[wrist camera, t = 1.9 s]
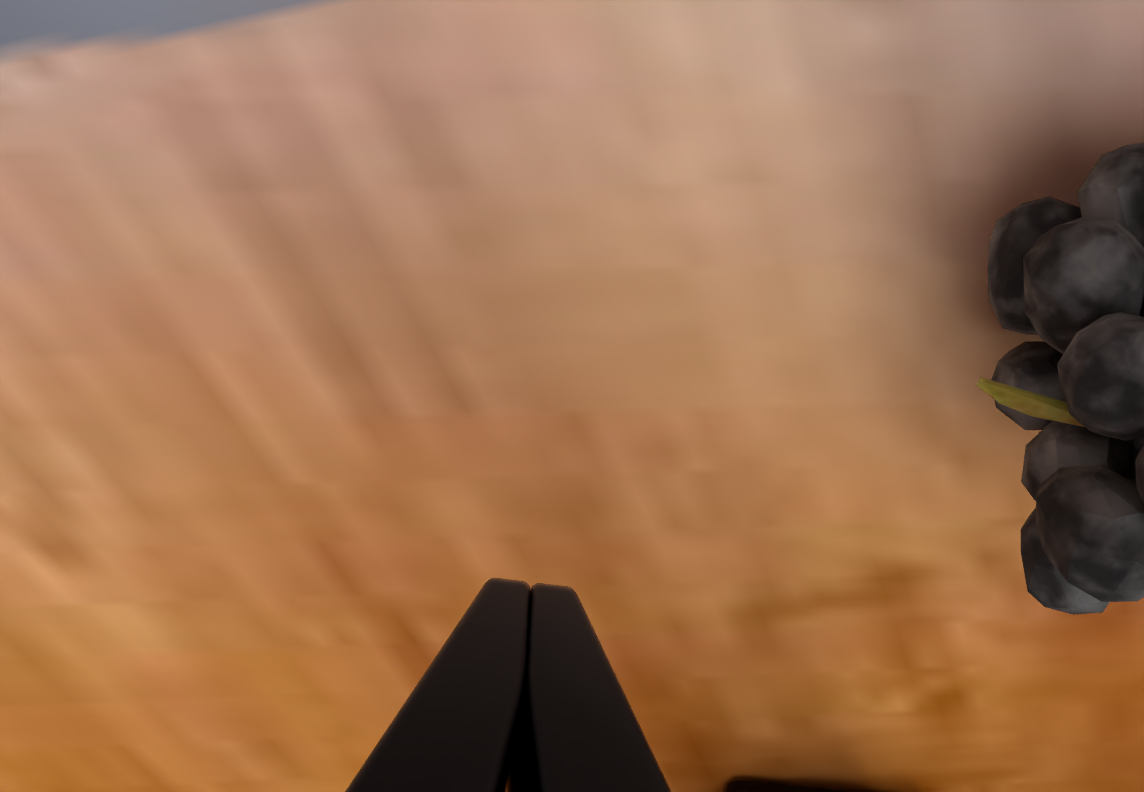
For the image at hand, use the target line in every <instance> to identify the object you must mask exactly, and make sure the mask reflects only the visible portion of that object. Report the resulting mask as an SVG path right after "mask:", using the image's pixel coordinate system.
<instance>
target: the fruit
mask: <svg viewBox="0 0 1144 792" xmlns="http://www.w3.org/2000/svg"><path fill="white" fill-rule="evenodd" d="M1077 193H1078V199H1079V204H1080V208H1079V207H1077V206H1074V205H1071V204H1068V203H1066V202H1063V201H1060V200H1058V199H1055V198H1052V197H1046V198H1042V199H1038V200H1034V201H1030V202H1026V203H1022V204H1021V205H1019V206H1018V207H1016V208H1015V209H1013V210H1012V211H1010V212H1009V213H1007V214H1006V215H1004V216H1003V217H1001V218H1000V219H998V220H997V221H996V224H995V227H994V230H993V234H992V237H991V240H990V243H989V255H988V292H989V302H990V304H991V306H992V308H993V310H994V312H995V314H996V316H997V318H998V320H999V322H1000V324H1001V326H1002V328H1004V329H1008V330H1012V331H1015V332H1019V333H1023V334H1028V335H1039V336H1040V338H1041V339H1042V340H1043V341H1045V342H1024V343H1022V344H1021V345H1019V346H1017V347H1016V348H1014V349H1012V350H1011V351H1009V352H1008V353H1007V354H1006V355H1005V356H1003V357H1002V358H1001V359H1000V360H999V361H998V363H997V366H996V369H995V371H994V374H993V377H992V380H989V379H985V378H982V377H981V378H980V379H979V381H978V382H977V384H976V386H977V387H979V388H980V389H981V390H983V391H984V392H985V393H987V394H988V395H989V396H991V397H992V398H993V399H995V404H996V408H997V409H999V410H1000V411H1001V412H1003V413H1004V414H1005V415H1006V416H1008V417H1009V418H1010V419H1012V420H1013V421H1014V422H1015V423H1017V424H1018V425H1019V426H1021V427H1022V428H1023V429H1025V430H1042V431H1041V432H1040V433H1039V434H1038V435H1037V436H1036V437H1035V438H1033V439H1032V440H1031V441H1030V442H1029V443H1028V444H1027V445H1026V449H1025V457H1024V465H1023V473H1022V480H1021V482H1022V483H1023V485H1024V486H1025V487H1026V489H1027V490H1028V492H1029V493H1030V495H1031V496H1032V497H1033V499H1034V500H1036V508H1035V509H1034V511H1033V512H1032V513H1031V514H1030V516H1029V517H1028V519H1027V520H1026V522H1025V524H1024V525H1023V527H1022V528H1021V555H1022V561H1023V567H1024V572H1025V578H1026V584H1027V590H1028V592H1029V593H1030V594H1031V595H1032V596H1033V597H1035V598H1036V599H1037V600H1038V601H1039V602H1040V603H1041V604H1042V605H1043V606H1044V607H1047V608H1051V609H1055V610H1058V611H1062V612H1066V613H1069V614H1087V613H1101V612H1103V611H1104V609H1105V608H1106V606H1107V605H1108V604H1109V602H1119V601H1138V600H1140V599H1141V598H1143V597H1144V142H1143V143H1138V144H1132V145H1127V146H1123V147H1121V148H1118V149H1116V150H1114V151H1111V152H1109V153H1106V154H1104V155H1102V156H1101V158H1100V159H1099V161H1098V162H1097V164H1096V165H1095V166H1094V168H1093V169H1092V171H1091V172H1090V174H1089V175H1088V177H1087V178H1086V179H1085V181H1084V182H1083V184H1082V186H1081V187H1080V189H1079V191H1078V192H1077Z"/></svg>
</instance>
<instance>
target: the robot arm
mask: <svg viewBox="0 0 1144 792" xmlns="http://www.w3.org/2000/svg"><path fill="white" fill-rule="evenodd" d="M505 791H506V792H671V790H670V788H669V786H668V784H667V782H666V780H665V778H664V776H663V774H662V771H661V769H660V767H659V765H658V763H657V761H656V759H655V757H654V755H653V753H652V750H651V748H650V746H649V744H648V742H647V740H646V738H645V736H644V734H643V732H642V729H641V727H640V725H639V723H638V721H637V719H636V717H635V715H634V713H633V711H632V709H631V706H630V704H629V702H628V700H627V698H626V696H625V694H624V692H623V690H622V688H621V685H620V683H619V681H618V679H617V677H616V675H615V673H614V671H613V669H612V667H611V664H610V662H609V660H608V658H607V656H606V654H605V652H604V650H603V648H602V646H601V644H600V641H599V639H598V637H597V635H596V633H595V631H594V629H593V627H592V625H591V623H590V620H589V618H588V616H587V614H586V612H585V610H584V608H583V606H582V604H581V602H580V599H579V597H578V595H577V594H576V592H575V591H574V590H573V589H572V588H571V587H568V586H559V585H551V584H543V583H536V584H534V585H533V586H532V588H531V590H530V586H529V584H528V583H527V582H524V581H518V580H509V579H501V578H491V579H489V580H488V581H487V582H486V583H485V584H484V586H483V587H482V589H481V590H480V592H479V593H478V595H477V596H476V598H475V599H474V601H473V602H472V603H471V605H470V606H469V608H468V609H467V611H466V612H465V614H464V615H463V617H462V618H461V620H460V621H459V623H458V624H457V626H456V627H455V629H454V630H453V632H452V633H451V635H450V636H449V638H448V639H447V641H446V642H445V644H444V645H443V647H442V648H441V650H440V651H439V653H438V654H437V656H436V657H435V659H434V660H433V662H432V663H431V665H430V666H429V668H428V669H427V671H426V672H425V674H424V675H423V677H422V678H421V680H420V681H419V682H418V684H417V685H416V687H415V688H414V690H413V691H412V693H411V694H410V696H409V697H408V699H407V700H406V702H405V703H404V705H403V706H402V708H401V709H400V711H399V712H398V714H397V715H396V717H395V718H394V720H393V721H392V723H391V724H390V726H389V727H388V729H387V730H386V732H385V733H384V735H383V736H382V738H381V739H380V741H379V742H378V744H377V745H376V747H375V748H374V750H373V751H372V753H371V754H370V756H369V757H368V759H367V760H366V761H365V763H364V764H363V766H362V767H361V769H360V770H359V772H358V773H357V775H356V776H355V778H354V779H353V781H352V782H351V784H350V785H349V787H348V788H347V790H346V791H345V792H505ZM723 792H842V791H832V790H823V789H814V788H805V787H795V786H786V785H777V784H768V783H759V782H749V781H736V782H732V783H730V784H728V785H727V786H726V787H725V789H724V791H723Z"/></svg>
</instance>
